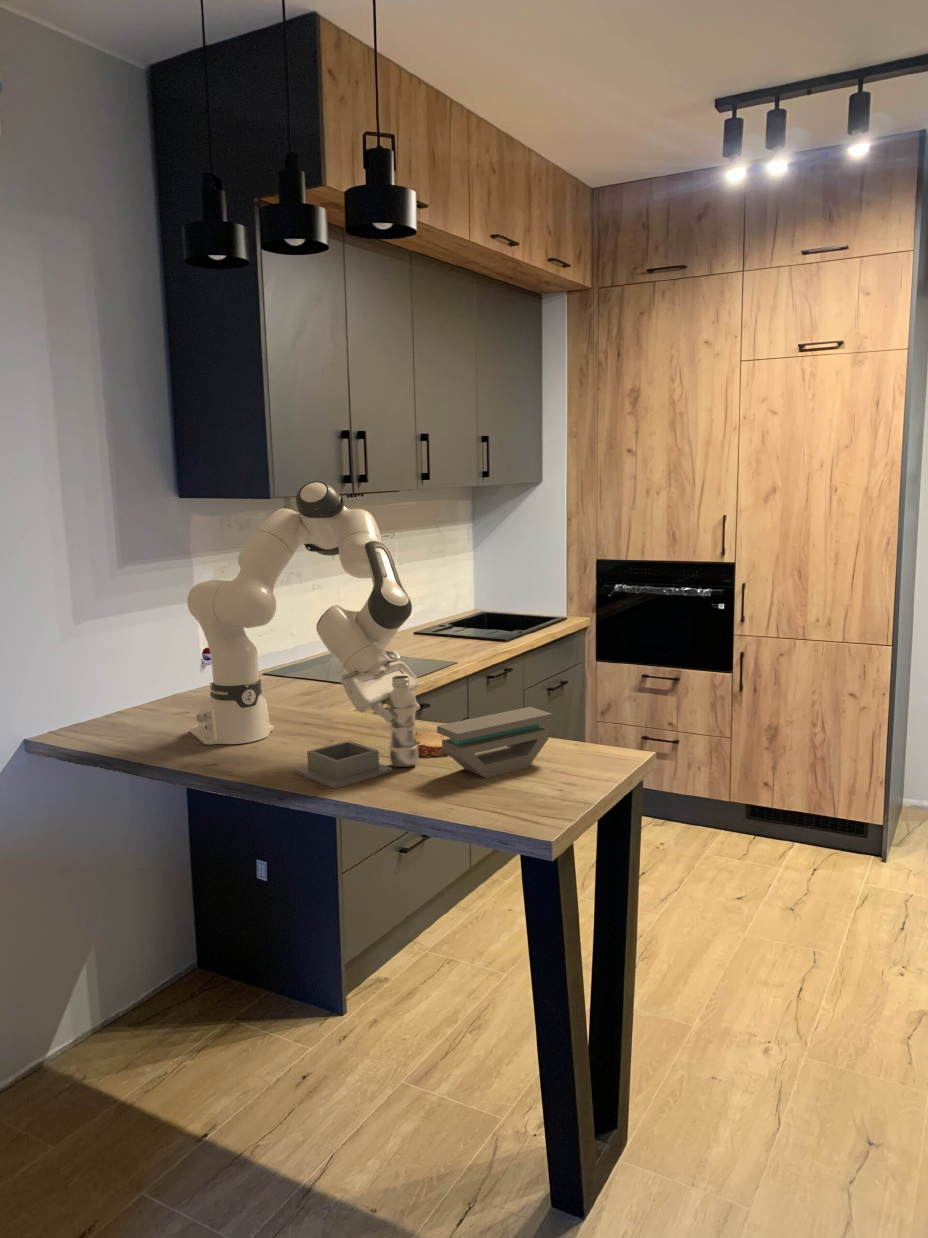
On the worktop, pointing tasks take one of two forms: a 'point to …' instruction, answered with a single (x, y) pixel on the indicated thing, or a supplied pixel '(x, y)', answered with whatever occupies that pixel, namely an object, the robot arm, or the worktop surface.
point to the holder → (342, 764)
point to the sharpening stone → (496, 741)
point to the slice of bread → (430, 744)
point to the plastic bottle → (402, 723)
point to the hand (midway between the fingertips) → (404, 715)
